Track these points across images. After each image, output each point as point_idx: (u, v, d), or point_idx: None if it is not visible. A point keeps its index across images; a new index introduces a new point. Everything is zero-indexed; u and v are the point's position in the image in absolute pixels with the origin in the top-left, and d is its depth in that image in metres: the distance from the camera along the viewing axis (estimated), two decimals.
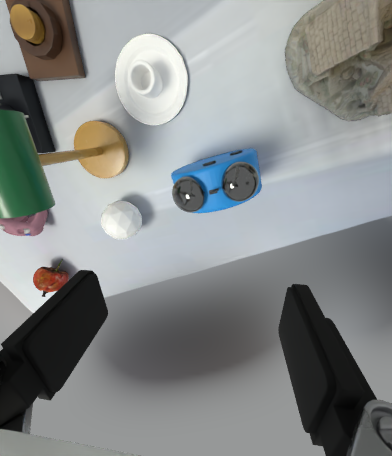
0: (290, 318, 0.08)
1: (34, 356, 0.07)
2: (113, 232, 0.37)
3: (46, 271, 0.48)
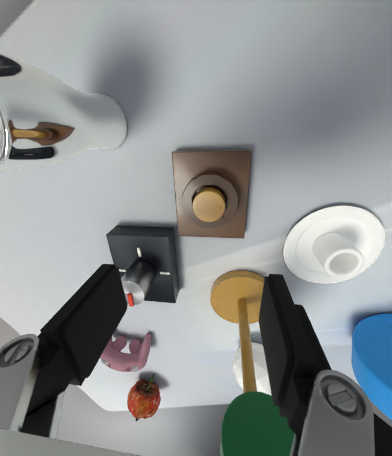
0: (266, 305, 0.09)
1: (69, 342, 0.07)
2: None
3: (144, 397, 0.43)
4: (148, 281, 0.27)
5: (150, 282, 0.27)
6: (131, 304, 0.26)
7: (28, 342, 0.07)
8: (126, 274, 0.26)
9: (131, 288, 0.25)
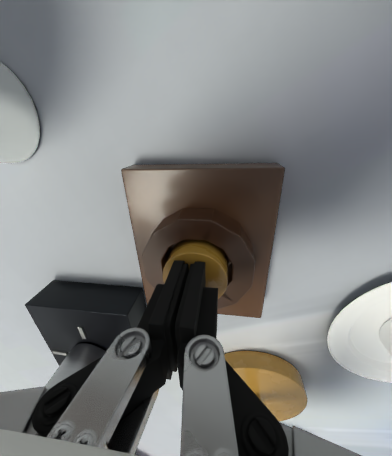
0: None
1: (170, 336, 0.07)
2: None
3: None
4: None
5: None
6: None
7: (142, 337, 0.07)
8: (52, 382, 0.15)
9: None
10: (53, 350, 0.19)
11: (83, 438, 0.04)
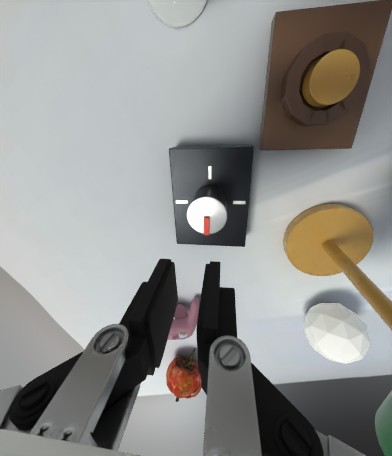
0: None
1: (151, 332, 0.07)
2: (346, 361, 0.26)
3: (187, 373, 0.37)
4: (226, 204, 0.21)
5: None
6: (207, 232, 0.20)
7: (120, 333, 0.07)
8: (200, 194, 0.20)
9: (210, 208, 0.19)
10: (176, 200, 0.24)
11: (67, 430, 0.04)
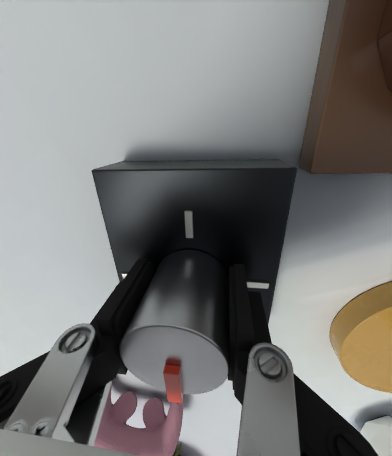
0: None
1: (120, 332, 0.07)
2: None
3: None
4: (227, 313, 0.08)
5: (228, 316, 0.09)
6: (176, 398, 0.07)
7: (86, 331, 0.07)
8: (158, 293, 0.08)
9: (182, 349, 0.07)
10: (123, 272, 0.11)
11: (39, 425, 0.05)
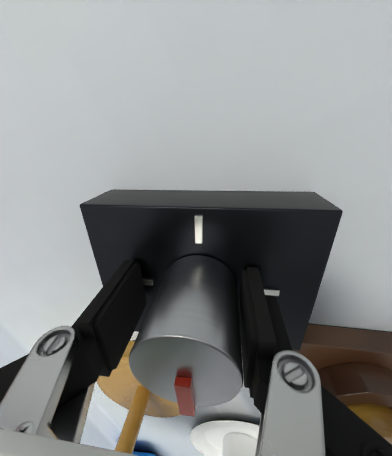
0: (242, 296, 0.09)
1: (101, 334, 0.07)
2: None
3: None
4: (238, 321, 0.08)
5: (239, 323, 0.08)
6: (188, 411, 0.07)
7: (65, 333, 0.07)
8: (166, 302, 0.07)
9: (193, 361, 0.06)
10: (202, 217, 0.09)
11: (21, 427, 0.04)
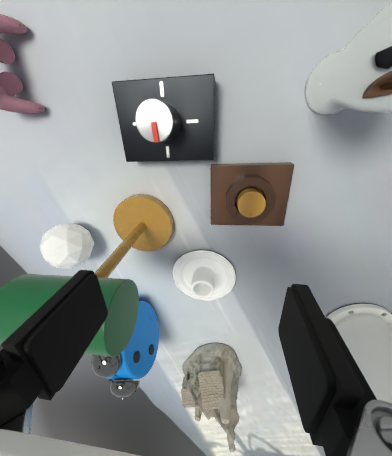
0: (290, 318, 0.08)
1: (34, 356, 0.07)
2: (46, 258, 0.31)
3: None
4: (175, 114, 0.21)
5: (177, 120, 0.22)
6: (156, 138, 0.21)
7: None
8: None
9: (156, 111, 0.20)
10: (162, 82, 0.22)
11: None
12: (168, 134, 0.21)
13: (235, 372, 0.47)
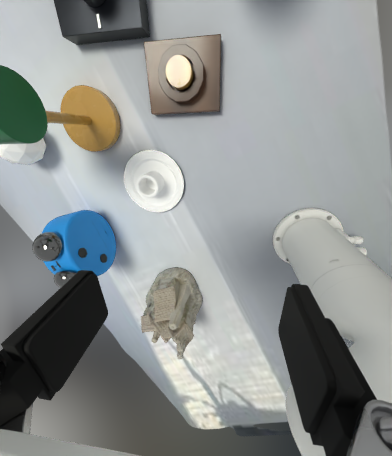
0: (290, 318, 0.08)
1: (34, 356, 0.07)
2: None
3: None
4: None
5: None
6: None
7: None
8: None
9: None
10: None
11: None
12: None
13: (193, 297, 0.47)
